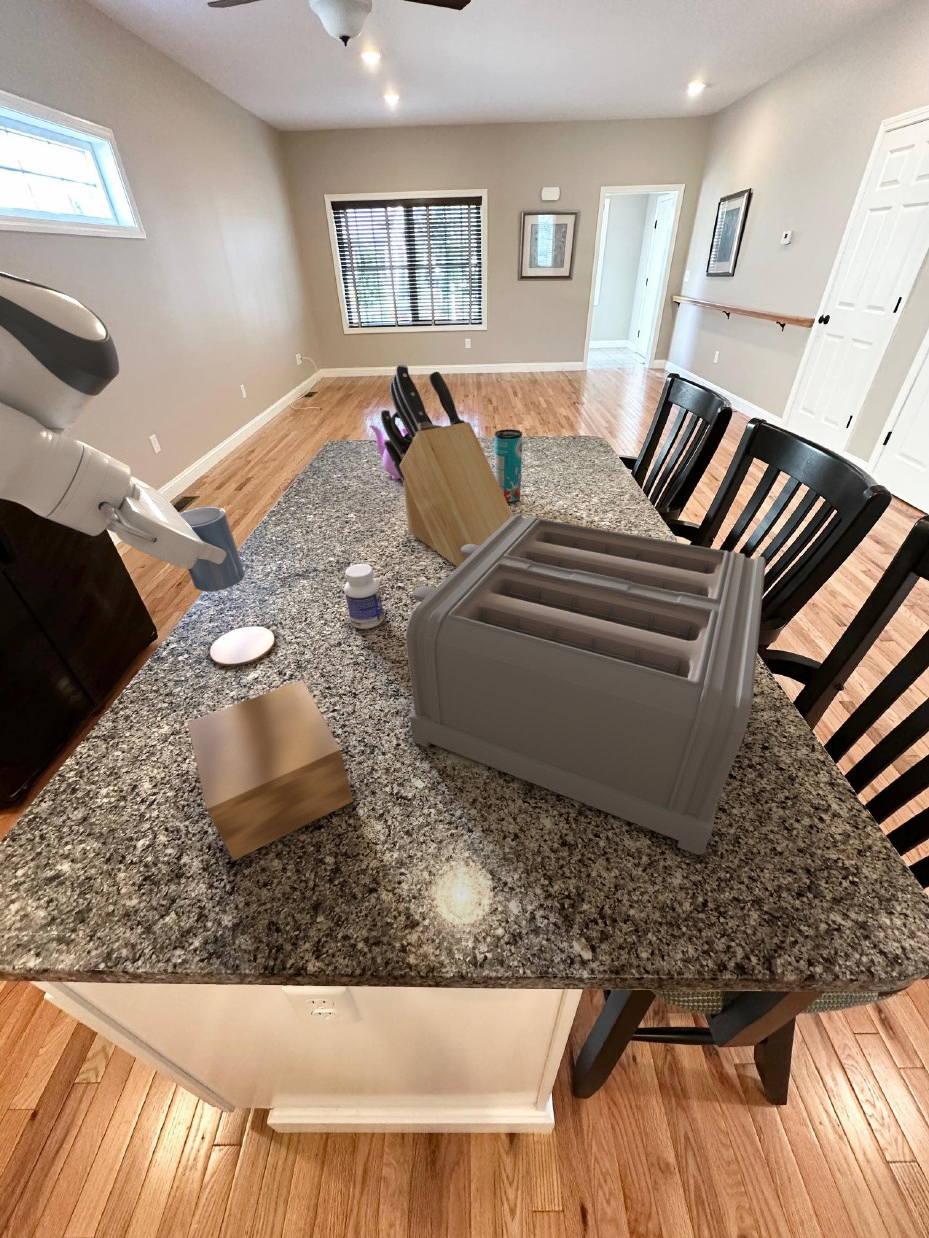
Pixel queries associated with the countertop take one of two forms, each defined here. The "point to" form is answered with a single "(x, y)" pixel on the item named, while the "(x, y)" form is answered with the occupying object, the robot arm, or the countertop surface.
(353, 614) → the pill bottle
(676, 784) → the toaster
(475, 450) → the knife block
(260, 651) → the coaster
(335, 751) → the wood block
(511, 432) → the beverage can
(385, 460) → the teapot
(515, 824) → the countertop surface
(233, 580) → the cup
